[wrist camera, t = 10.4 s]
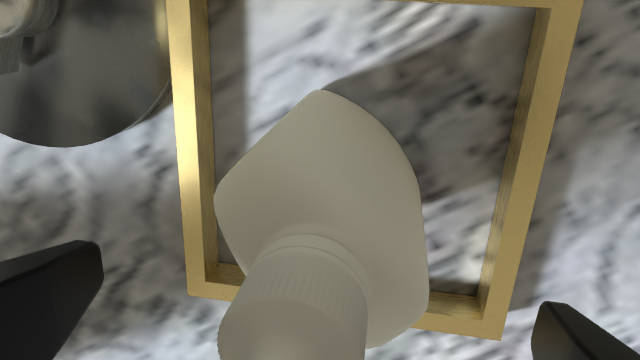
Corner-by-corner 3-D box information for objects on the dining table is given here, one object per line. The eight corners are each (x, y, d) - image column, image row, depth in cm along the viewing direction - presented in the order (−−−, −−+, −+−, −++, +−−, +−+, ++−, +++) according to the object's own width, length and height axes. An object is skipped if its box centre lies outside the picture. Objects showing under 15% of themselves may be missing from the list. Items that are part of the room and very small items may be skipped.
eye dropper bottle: (318, 231, 18) (195, 571, 7) (275, 99, 17) (29, 279, 6) (425, 210, 17) (472, 573, 6) (391, 66, 15) (372, 211, 4)
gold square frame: (492, 315, 18) (500, 340, 17) (202, 275, 20) (187, 295, 19) (570, -19, 14) (589, -22, 12) (184, -34, 15) (163, -39, 14)
